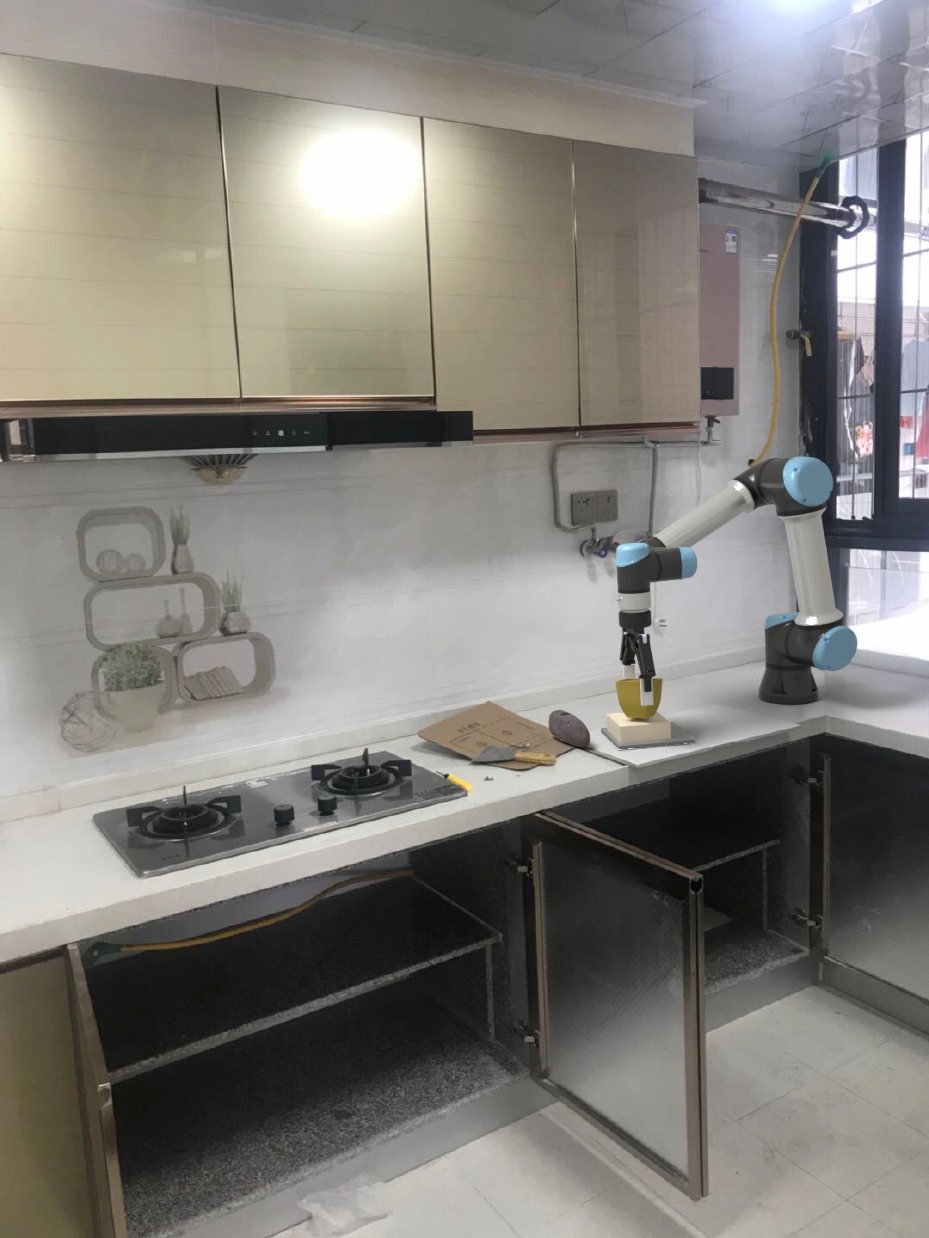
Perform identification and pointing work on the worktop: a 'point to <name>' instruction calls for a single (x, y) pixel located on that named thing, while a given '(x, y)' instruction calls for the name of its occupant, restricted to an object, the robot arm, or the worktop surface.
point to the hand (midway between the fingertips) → (638, 698)
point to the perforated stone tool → (569, 728)
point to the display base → (674, 739)
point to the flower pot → (637, 698)
